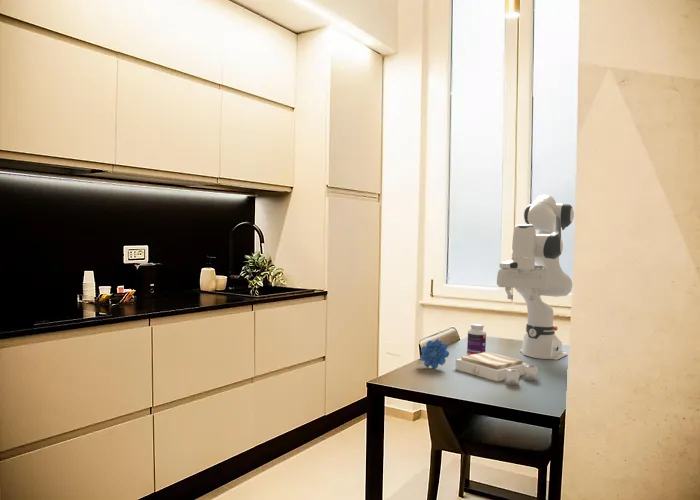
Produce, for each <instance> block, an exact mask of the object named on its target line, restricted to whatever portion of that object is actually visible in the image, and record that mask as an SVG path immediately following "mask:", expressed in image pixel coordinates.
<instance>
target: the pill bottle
mask: <svg viewBox="0 0 700 500" xmlns="http://www.w3.org/2000/svg"><path fill="white" fill-rule="evenodd" d="M486 343H487V332H486V330H484V324H481V323H471V324H470V329H468V331H467V347H466V354H467V355H473V354H478V353H484V352H486V348H487V347H486ZM467 355H466V356H467Z"/></svg>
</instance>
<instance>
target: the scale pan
mask: <svg viewBox="0 0 700 500" xmlns="http://www.w3.org/2000/svg"><path fill="white" fill-rule="evenodd" d="M460 358H461V360H465V361H469V362H472V363H476V364H480V365H483V366H487V367H491V368H494V369H500V368H504V367H509V366H513V365H518V364H522V363H524V362H523V360H522V359H517V358H514V357H509V356H505V355H502V354H498V353H494V352H489V351H485V352H484V353H478V354H473V355H463V356H460Z"/></svg>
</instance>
